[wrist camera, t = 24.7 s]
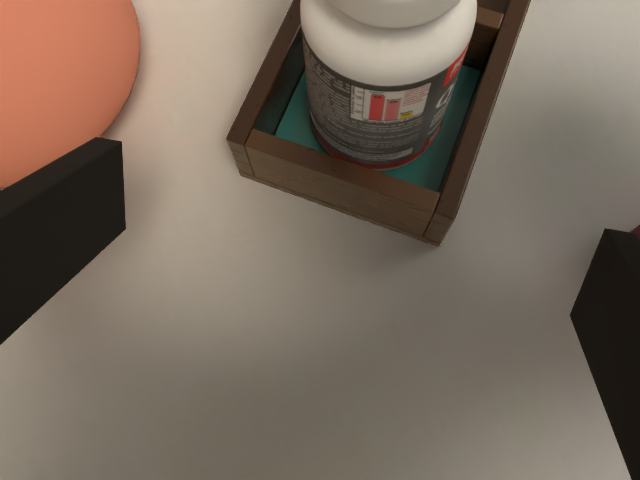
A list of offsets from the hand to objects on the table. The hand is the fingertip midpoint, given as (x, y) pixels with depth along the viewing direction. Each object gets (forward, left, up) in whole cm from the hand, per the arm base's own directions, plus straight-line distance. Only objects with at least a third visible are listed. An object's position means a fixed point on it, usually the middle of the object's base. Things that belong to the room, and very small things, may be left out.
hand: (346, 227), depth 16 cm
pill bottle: (+1, -8, -8) cm, 11 cm away
